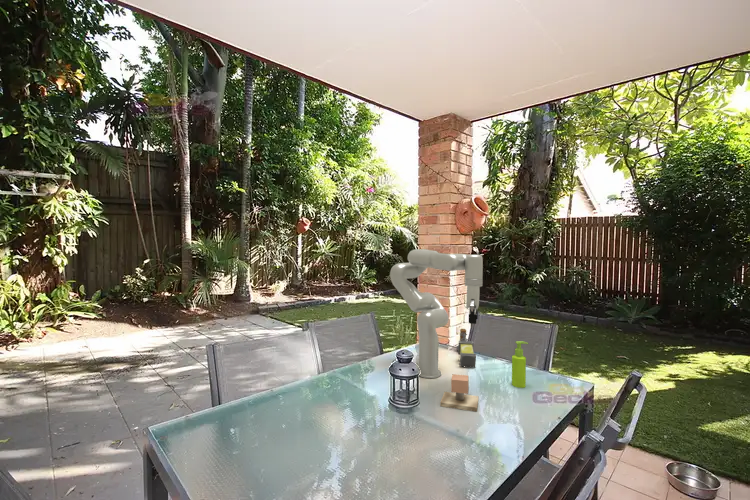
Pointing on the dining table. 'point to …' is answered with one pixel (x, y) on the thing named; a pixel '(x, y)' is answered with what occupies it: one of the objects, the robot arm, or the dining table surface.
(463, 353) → the grey and yellow block
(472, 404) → the board
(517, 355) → the soap dispenser
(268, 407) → the dining table surface
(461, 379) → the peach cube
